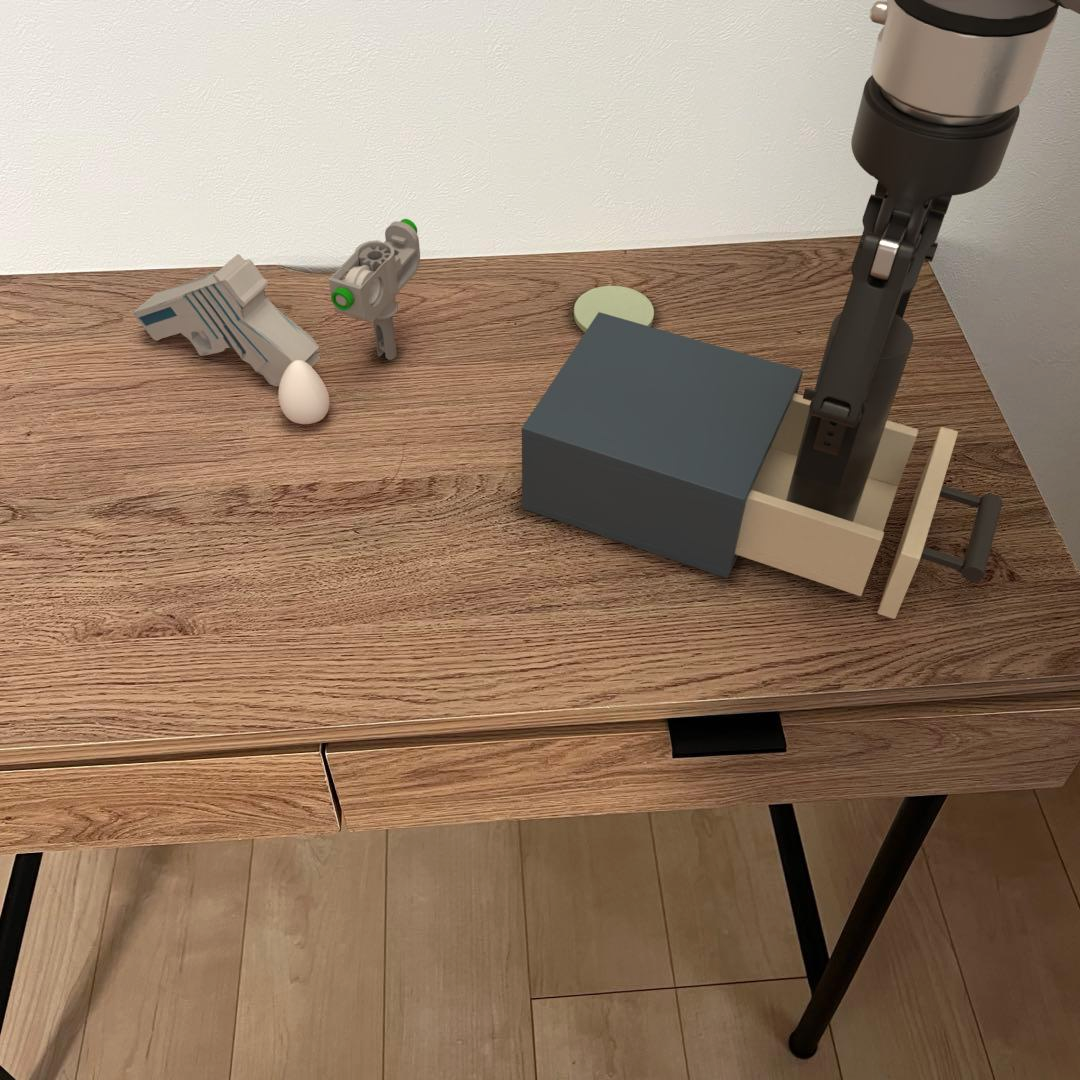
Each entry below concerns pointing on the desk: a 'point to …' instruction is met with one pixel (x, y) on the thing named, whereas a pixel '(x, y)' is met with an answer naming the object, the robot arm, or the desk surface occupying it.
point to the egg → (303, 394)
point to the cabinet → (654, 440)
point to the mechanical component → (378, 281)
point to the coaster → (613, 306)
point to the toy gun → (230, 319)
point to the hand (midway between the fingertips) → (847, 406)
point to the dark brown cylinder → (869, 433)
